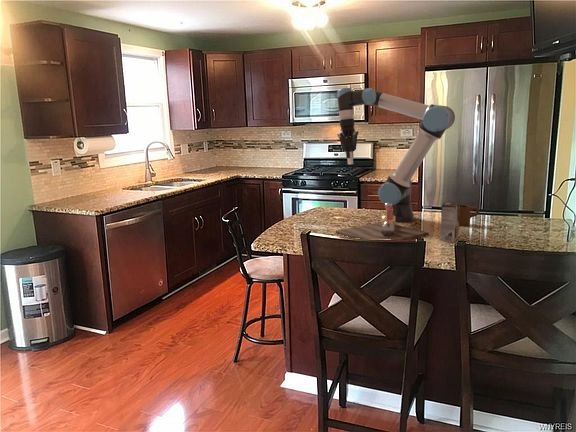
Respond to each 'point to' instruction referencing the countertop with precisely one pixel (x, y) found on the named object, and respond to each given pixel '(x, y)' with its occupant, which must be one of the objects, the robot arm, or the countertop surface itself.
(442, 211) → the coffee box
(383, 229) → the valve pipe
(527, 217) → the countertop surface
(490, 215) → the countertop surface
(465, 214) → the mug
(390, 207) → the valve lever
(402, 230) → the valve board
